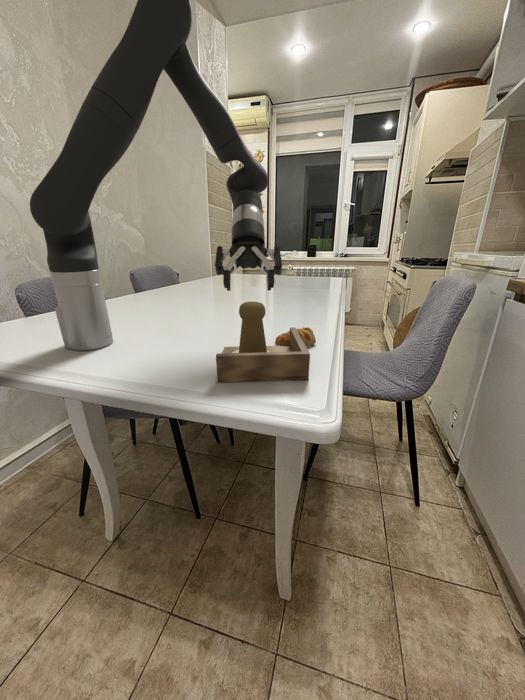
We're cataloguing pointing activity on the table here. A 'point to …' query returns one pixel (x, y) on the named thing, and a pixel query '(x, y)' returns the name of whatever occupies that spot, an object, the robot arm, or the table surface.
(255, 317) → the cork
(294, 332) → the corner tray
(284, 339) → the pastry
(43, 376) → the table surface
